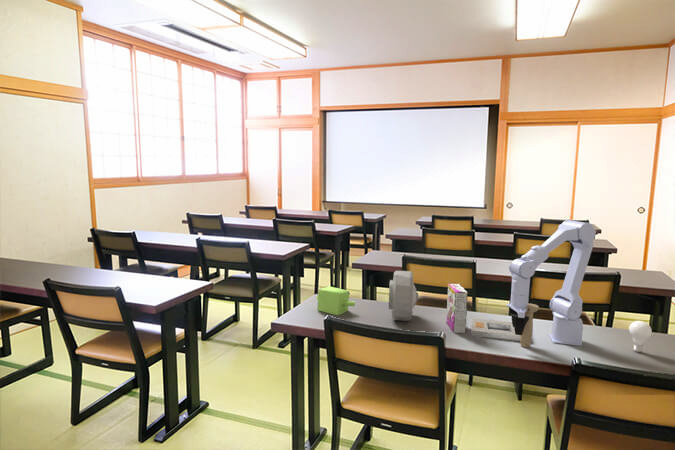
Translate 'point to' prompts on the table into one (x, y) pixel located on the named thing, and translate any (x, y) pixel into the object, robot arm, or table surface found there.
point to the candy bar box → (457, 308)
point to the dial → (402, 295)
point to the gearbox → (333, 300)
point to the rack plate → (481, 330)
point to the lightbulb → (639, 334)
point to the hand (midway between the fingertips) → (517, 330)
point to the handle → (528, 326)
